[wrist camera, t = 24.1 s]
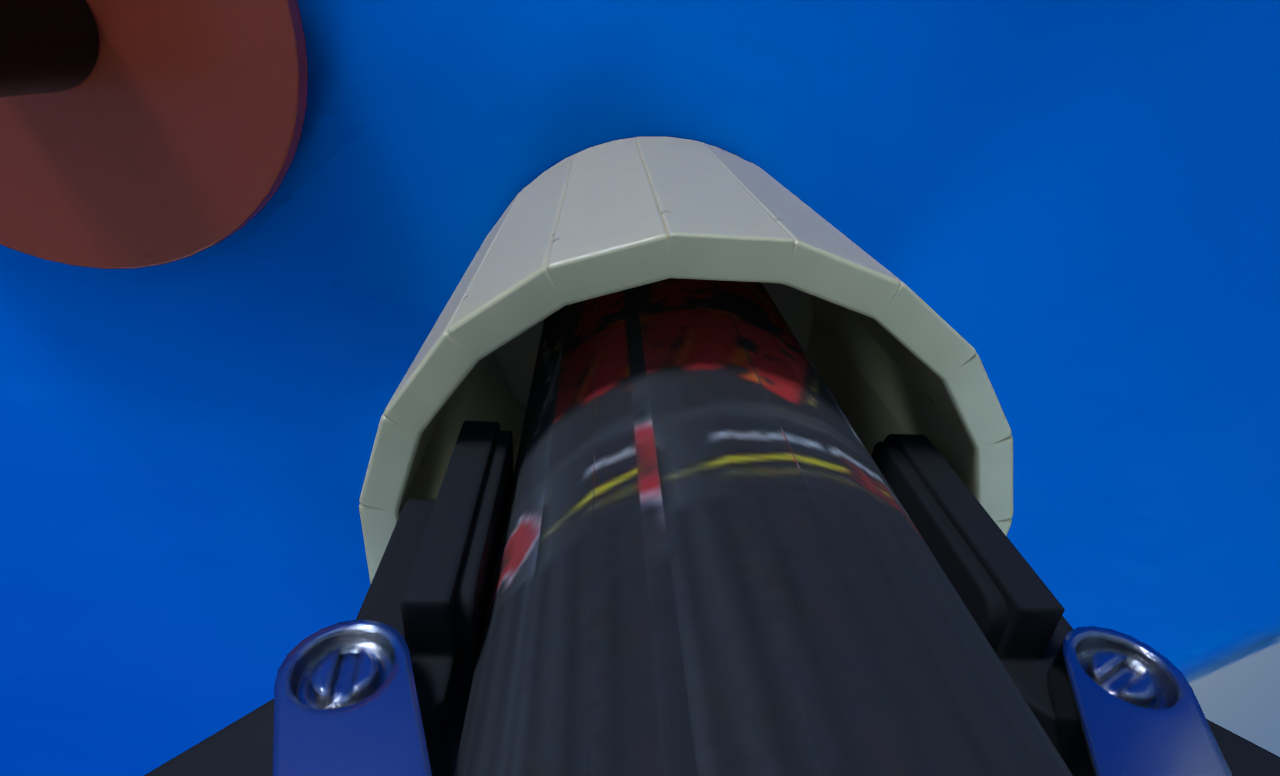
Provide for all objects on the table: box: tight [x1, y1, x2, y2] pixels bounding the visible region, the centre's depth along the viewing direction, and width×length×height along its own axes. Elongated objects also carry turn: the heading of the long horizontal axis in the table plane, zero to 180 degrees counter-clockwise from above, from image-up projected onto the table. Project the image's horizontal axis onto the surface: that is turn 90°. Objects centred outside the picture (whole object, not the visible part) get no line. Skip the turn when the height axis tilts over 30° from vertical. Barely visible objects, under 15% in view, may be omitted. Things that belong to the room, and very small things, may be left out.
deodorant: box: [454, 278, 1073, 776], centre depth 11 cm, size 6×6×15 cm
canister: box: [359, 136, 1013, 583], centre depth 15 cm, size 10×10×10 cm
